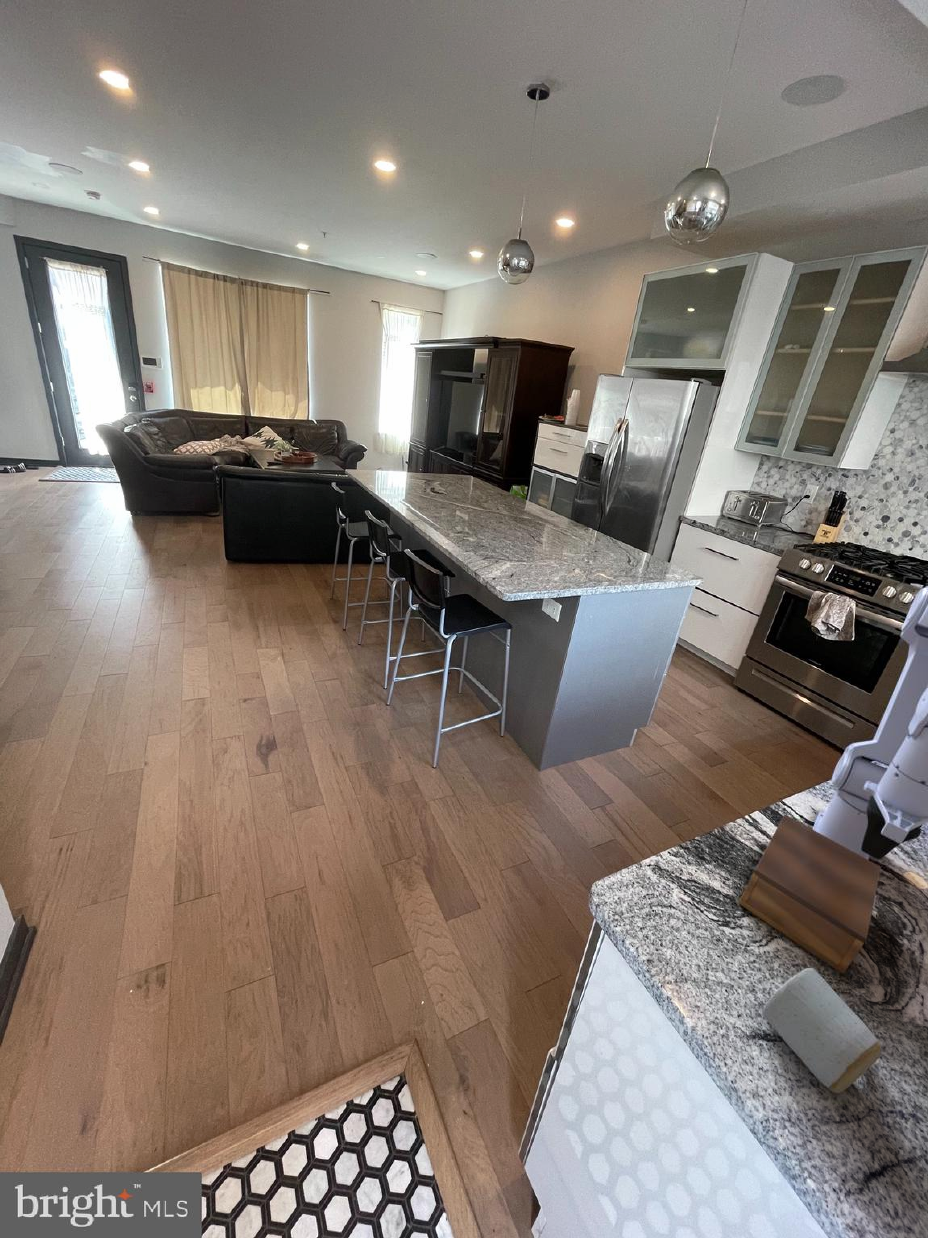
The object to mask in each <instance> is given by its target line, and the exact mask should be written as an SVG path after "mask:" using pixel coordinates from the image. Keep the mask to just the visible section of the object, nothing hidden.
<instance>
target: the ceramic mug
mask: <svg viewBox="0 0 928 1238" xmlns="http://www.w3.org/2000/svg"><path fill="white" fill-rule="evenodd" d="M761 1011H762V1012H761V1013H762V1016H763V1017H764V1019H765V1020H766V1021H767V1022H768V1024H769V1025H771V1027H772V1029H774V1030H775V1032H777V1034H778V1035H779V1036H780V1037H781V1039H782V1040H783V1041H784V1042H785V1043H786V1044H787V1046H789V1048H790V1049H791V1050H792V1051H793V1052H794V1053H795V1055H797V1056H798V1058H799V1059H800V1060H801V1061H802V1063H803V1064H804V1065H805V1066H806V1067H807V1068H808V1070H809V1071H810V1072H811V1073H812V1075H813V1076H814V1077H815V1078H816V1080H818V1081H819V1083H821V1084H822V1085H823V1086H824V1087H825V1088H827V1089H828V1090H829V1091H830V1092H832V1093H835V1094H841V1093H842V1092H844V1091H845V1090H847V1089H848V1088H849V1087H850V1086H851V1085H853V1084H854V1083H855V1082H856V1081H857V1080H858V1079H859V1078H860V1077H861V1076H863V1075H864V1074H865V1073H866V1072H867V1071H868V1070H869V1069H870V1068H871V1067H872V1066H873V1065H874V1064H875V1063H876V1062H877V1061H878V1060H879V1059H880V1058H881V1056H882V1054H883V1048H882V1045H881V1043H880V1041H879V1040H878V1039H877V1038H876V1035H874V1034H873V1032H872V1031H871V1030H870V1028H869V1027H868V1026H867V1025H866V1024H865V1022H864V1021H863V1020H861V1018H860V1017H859V1016H858V1015H857V1014H856V1013H855V1012H854V1011H853V1010H852V1009H851V1008H850V1007H849V1006H848V1005H847V1003H845V1001H844V1000H843V999H842V998H841V996H839V995H838V994H837V992H836V991H835V990H834V989H833V988H832V987H831V986H830V985H829V983H828V982H827V981H826V980H825V979H824V977H822V976H821V974H820V973H819V972H817V970H816V969H814V968H813V967H808V968H807V967H806V968H804V969H803V970H801V971H800V972H798V973H796V974H794V975H793V976H792V977H791V978H789V979H788V980H787V981H785V982H784V983H783V985H781V987H779V989H777V990H776V991H775V992H774V993H773V995H772V996H771V997H770V998H769V1000H768V1001H767V1002H766V1003H765V1005H764V1007H763V1008H762V1010H761Z"/></svg>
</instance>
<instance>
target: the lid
mask: <svg viewBox="0 0 928 1238" xmlns="http://www.w3.org/2000/svg"><path fill="white" fill-rule="evenodd" d="M881 870H882V866H881V865H878V864H876V863H874V862H873V861H871V860H869V859H868V860H867V859H866V858H864V857H862V856H860V855H858V854H856V853H855V852H853V851H851V850H849V849H847V848H845V847H844V846H842V845H840V844H838V843H836V842H834V841H833V840H831V839H829V838H827V837H825V836H824V835H822V834H820V833H818V832H816V831H814V830H813V828H811V827H809V826H807V825H805V824H803V823H801V822H800V821H798V820H796V819H795V818H793V817H791V816H789V815H787V814H785V813H784V814H783V816H782V817H781V820H780V821H779V823H778V825H777V827H776V830H775V832H774V833H773V835H772V837H771V839H770V840H769V843H768V845H767V846H766V848H765V850H764V852H763V854H762V855H761V858H760V859H759V862H758V864H757V866H756V867H755V869H754V871H753V873H754V874H756V875H758V876H759V877H761V878H762V879H764V880H765V881H767V882H769V883H770V884H772V885H773V886H775V887H777V888H778V889H780V890H781V891H783V892H784V893H786V894H788V895H789V896H791V897H792V898H794V899H796V900H797V901H799V902H800V903H802V904H803V905H805V906H807V907H808V908H810V909H811V910H813V911H814V912H816V913H818V914H819V915H821V916H822V917H824V918H826V919H827V920H829V921H830V922H832V923H833V924H835V925H837V926H838V927H840V928H841V929H843V930H844V931H846V932H848V933H849V934H851V935H852V936H854V937H856V938H857V939H859V940H860V941H862V942H863V943H864V944H865V942H866V941H867V939H868V934H869V929H870V925H871V924H870V923H871V920H872V914H873V909H874V904H875V899H876V894H877V888H878V884H879V879H880V874H881Z"/></svg>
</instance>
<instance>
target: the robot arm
mask: <svg viewBox="0 0 928 1238" xmlns="http://www.w3.org/2000/svg"><path fill="white" fill-rule="evenodd" d="M900 630H901V633H900V638H901V639H902V640H904V642H906V643H907V644H908V647H909V648H908V655H907V659H906V662H905V664H904V667H903V669H902V671H901V673H900V676H899V678H898V681H897V683H896V685H895V688H894V690H893V693H892V695H891V696H890V699H889V702H888V704H887V706H886V709H885V711H884V713H883V716H882V718H881V720H880V722H879V725H878V728H877V730H876V732H875V734H874V737H873V739H872V740H865V741H859V742H853V743H851V744H849V745H848V746H847V747H845V749H844V752H843V754H842V755H841V757H840V758H839V760H838V761H837V764H836V765H835V768H834V771H833V773H832V777H831V784H832V787H833V788H834V789H836V791H835V793H834V794H833V796H832V798H831V800H830V802H829V804H828V805H827V807H826V809H825V811H819V812H818V815H817V817H816V819H815V822H814V824H813V826H812V829H813V830H814V831H816V832H818V833H820V834H822V835H824V836H825V837H827V838H829V839H831V840H833V841H834V842H836V843H838V844H840V845H842V846H844V847H845V848H847V849H849V850H851V851H853V852H855V853H856V854H858V855H860V856H862V857H864V858H866V859H867V860H869V859H870V856H871V857H872V858H874V859H876V860H877V861H878V860H881V859H883V858H884V857H886V856H887V855H888V854H889V853H890V852H892V851H893V850H894V849H895V848H897V847H898V846H900V845H902V844H904V843H906V842H908V841H912V840H916V839H918V838H919V837H920V836H921V833H922V827H923V825H925V824H926V823H928V585H926V586H925V587H923V588H921V589H920V590H919V591H918V593H916V595H915V598H914V599H913V602H912V603H911V605H910V608H909V610H908V612H907V614H906V616H905V620H904V622H903V623H902V626H901V629H900ZM862 757H864V758H862ZM865 758H866V759H865ZM867 759H869V760H867ZM870 760H872V761H874V762H872V761H870ZM875 762H876V763H875ZM878 763H879V764H878ZM881 764H882V765H884V766H887V767H884V766H882V765H881Z"/></svg>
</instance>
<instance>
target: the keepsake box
mask: <svg viewBox="0 0 928 1238" xmlns="http://www.w3.org/2000/svg"><path fill="white" fill-rule="evenodd" d="M738 904H739V905H740V906H742V907H743V908H744V909H746V910H747V911H749V912H751V913H752V914H753V915H755V916H756V917H758V918H759V919H761V920H762V921H764V922H765V923H767V924H768V925H769V926H771V927H773V928H774V929H775V930H777V931H778V932H780V933H782V934H783V935H784V936H786V937H787V938H788V939H790V940H791V941H793V942H795V943H796V944H797V945H799V946H801V947H802V948H803V949H805V950H806V951H808V952H810V953H811V954H812V955H814V956H815V957H817V958H818V959H819V960H821V961H823V962H824V963H826V964H827V965H828V966H830V967H832V968H833V969H835V970H836V971H838V972H839V973H840V974H841V975H844V974H845V972H846V970H847V969H848V968H849V966H850V965H851V963H852V961H853V960H854V959H855V957H856V956H857V954H858V953H859V952H860V950H861V948H862V947H863V946H864V944H865V942H864V943H863V942H862V941H860V940H859V939H857V938H856V937H854V936H852V935H851V934H849V933H848V932H846V931H844V930H843V929H841V928H840V927H838V926H837V925H835V924H833V923H832V922H830V921H829V920H827V919H826V918H824V917H822V916H821V915H819V914H818V913H816V912H814V911H813V910H811V909H810V908H808V907H807V906H805V905H803V904H802V903H800V902H799V901H797V900H796V899H794V898H792V897H791V896H789V895H788V894H786V893H784V892H783V891H781V890H780V889H778V888H777V887H775V886H773V885H772V884H770V883H769V882H767V881H765V880H764V879H762V878H761V877H759V876H758V875H756V874H754V872H753V873H752V875H751V877H750V879H749V881H748V882H747V885H746V887H745V888H744V891H743V893H742V895H741V897H740V898H739V900H738Z"/></svg>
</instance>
